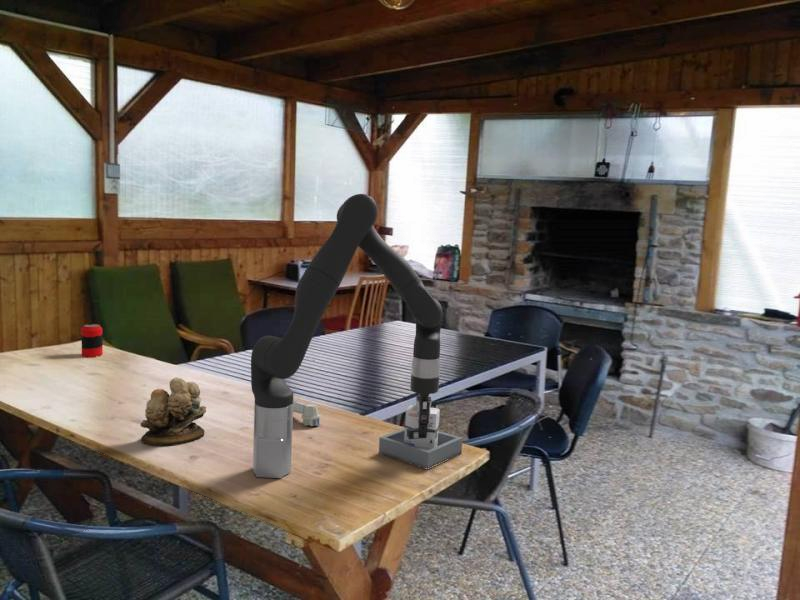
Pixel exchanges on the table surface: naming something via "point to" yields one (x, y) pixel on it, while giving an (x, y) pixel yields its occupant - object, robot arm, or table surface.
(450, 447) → the walled crate
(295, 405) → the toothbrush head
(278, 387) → the robot arm
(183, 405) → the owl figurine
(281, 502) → the table surface
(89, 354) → the soda can
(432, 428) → the ink box
